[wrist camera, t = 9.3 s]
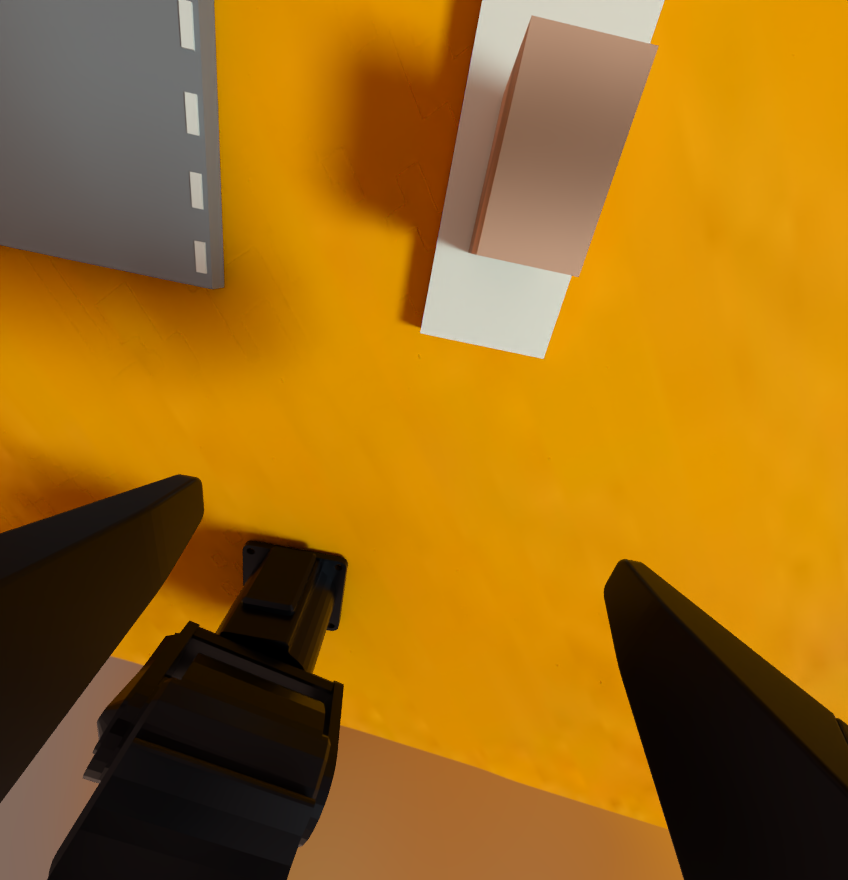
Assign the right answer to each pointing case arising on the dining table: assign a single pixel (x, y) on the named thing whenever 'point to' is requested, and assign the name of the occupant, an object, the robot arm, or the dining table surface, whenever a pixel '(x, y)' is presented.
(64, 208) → the board
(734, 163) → the dining table surface
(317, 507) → the dining table surface
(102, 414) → the dining table surface
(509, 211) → the stub
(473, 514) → the dining table surface
